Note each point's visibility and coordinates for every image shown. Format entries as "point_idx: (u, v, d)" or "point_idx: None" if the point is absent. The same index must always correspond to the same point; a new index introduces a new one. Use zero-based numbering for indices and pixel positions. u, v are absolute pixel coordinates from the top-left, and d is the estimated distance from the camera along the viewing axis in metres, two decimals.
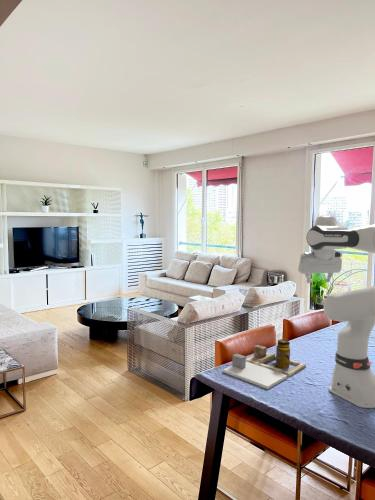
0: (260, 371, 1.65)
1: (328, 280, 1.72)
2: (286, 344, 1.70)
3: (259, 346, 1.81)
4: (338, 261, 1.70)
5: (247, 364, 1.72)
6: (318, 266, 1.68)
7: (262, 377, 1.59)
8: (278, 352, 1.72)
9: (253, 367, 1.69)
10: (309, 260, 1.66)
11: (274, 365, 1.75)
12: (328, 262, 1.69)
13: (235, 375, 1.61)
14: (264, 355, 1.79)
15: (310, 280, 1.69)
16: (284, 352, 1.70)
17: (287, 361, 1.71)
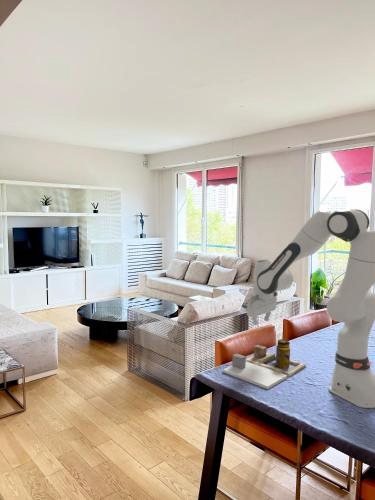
0: (260, 371, 1.65)
1: (268, 319, 1.83)
2: (286, 344, 1.70)
3: (259, 346, 1.81)
4: (274, 300, 1.83)
5: (247, 364, 1.72)
6: (262, 307, 1.77)
7: (262, 377, 1.59)
8: (278, 352, 1.72)
9: (253, 367, 1.69)
10: (256, 303, 1.73)
11: (274, 365, 1.75)
12: (268, 302, 1.80)
13: (235, 375, 1.61)
14: (264, 355, 1.79)
15: (257, 322, 1.76)
16: (284, 352, 1.70)
17: (287, 361, 1.71)
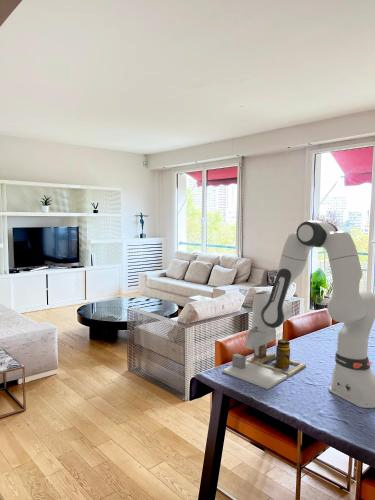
0: (260, 371, 1.65)
1: None
2: (286, 344, 1.70)
3: None
4: (273, 330, 1.84)
5: (247, 364, 1.72)
6: (261, 339, 1.78)
7: (262, 377, 1.59)
8: (278, 352, 1.72)
9: (253, 367, 1.69)
10: (255, 336, 1.74)
11: (274, 365, 1.75)
12: (267, 333, 1.81)
13: (235, 375, 1.61)
14: (264, 355, 1.79)
15: (259, 352, 1.79)
16: (284, 352, 1.70)
17: (287, 361, 1.71)
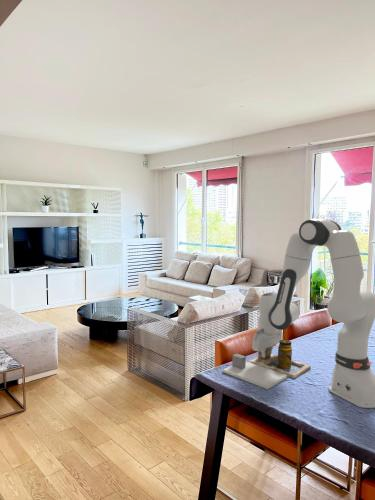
0: (260, 371, 1.65)
1: None
2: (288, 344, 1.70)
3: None
4: (279, 332, 1.82)
5: (247, 364, 1.72)
6: (268, 340, 1.75)
7: (262, 377, 1.59)
8: (280, 352, 1.71)
9: (253, 367, 1.69)
10: (262, 337, 1.72)
11: (276, 365, 1.74)
12: (273, 335, 1.79)
13: (235, 375, 1.61)
14: (268, 356, 1.78)
15: (265, 354, 1.77)
16: (286, 352, 1.70)
17: (289, 362, 1.71)
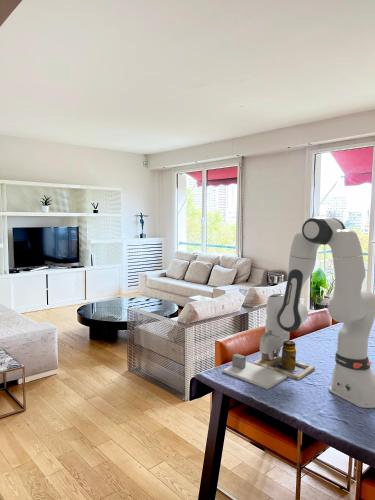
0: (260, 371, 1.65)
1: (278, 355, 1.77)
2: (292, 345, 1.69)
3: None
4: (287, 334, 1.79)
5: (247, 364, 1.72)
6: (275, 342, 1.73)
7: (262, 377, 1.59)
8: (284, 354, 1.70)
9: (253, 367, 1.69)
10: (270, 339, 1.69)
11: (280, 367, 1.73)
12: (281, 337, 1.76)
13: (235, 375, 1.61)
14: None
15: (273, 356, 1.74)
16: (290, 353, 1.69)
17: (294, 363, 1.70)
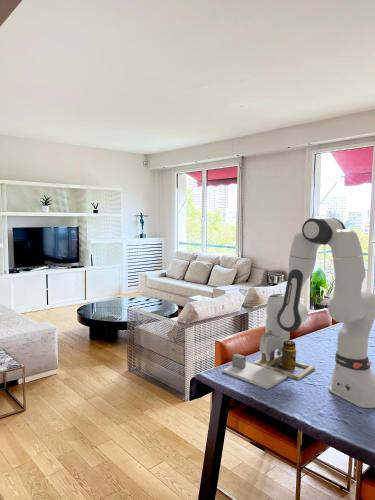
0: (260, 371, 1.65)
1: (280, 353, 1.79)
2: (292, 345, 1.69)
3: None
4: (287, 334, 1.79)
5: (247, 364, 1.72)
6: (275, 343, 1.73)
7: (262, 377, 1.59)
8: (284, 354, 1.70)
9: (253, 367, 1.69)
10: (270, 339, 1.69)
11: (280, 367, 1.73)
12: (281, 337, 1.76)
13: (235, 375, 1.61)
14: (272, 358, 1.76)
15: (270, 358, 1.72)
16: (290, 353, 1.69)
17: (294, 363, 1.70)
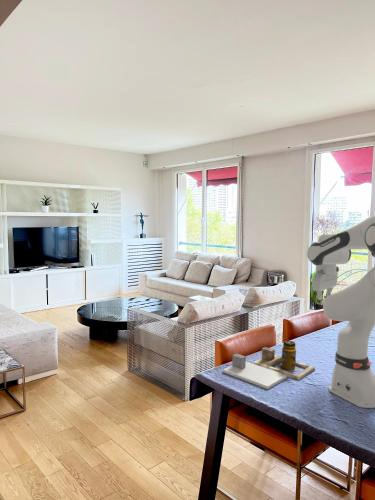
0: (260, 371, 1.65)
1: (329, 294, 1.82)
2: (292, 345, 1.69)
3: (267, 348, 1.78)
4: (335, 275, 1.83)
5: (247, 364, 1.72)
6: (327, 282, 1.76)
7: (262, 377, 1.59)
8: (284, 354, 1.70)
9: (253, 367, 1.69)
10: (322, 277, 1.72)
11: (280, 367, 1.73)
12: (330, 277, 1.80)
13: (235, 375, 1.61)
14: (272, 358, 1.76)
15: (321, 297, 1.75)
16: (290, 353, 1.69)
17: (294, 363, 1.70)
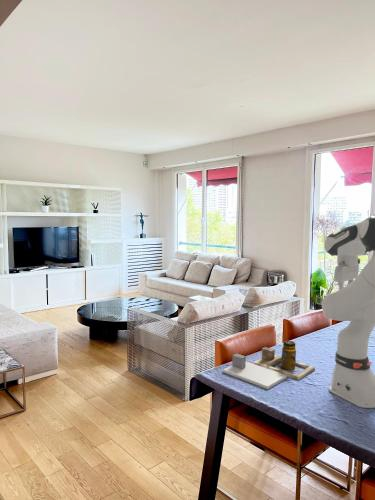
0: (260, 371, 1.65)
1: None
2: (292, 345, 1.69)
3: (267, 348, 1.78)
4: (356, 267, 1.84)
5: (247, 364, 1.72)
6: (348, 273, 1.78)
7: (262, 377, 1.59)
8: (284, 354, 1.70)
9: (253, 367, 1.69)
10: (344, 269, 1.74)
11: (280, 367, 1.73)
12: (352, 269, 1.81)
13: (235, 375, 1.61)
14: (272, 358, 1.76)
15: (343, 288, 1.77)
16: (290, 353, 1.69)
17: (294, 363, 1.70)
